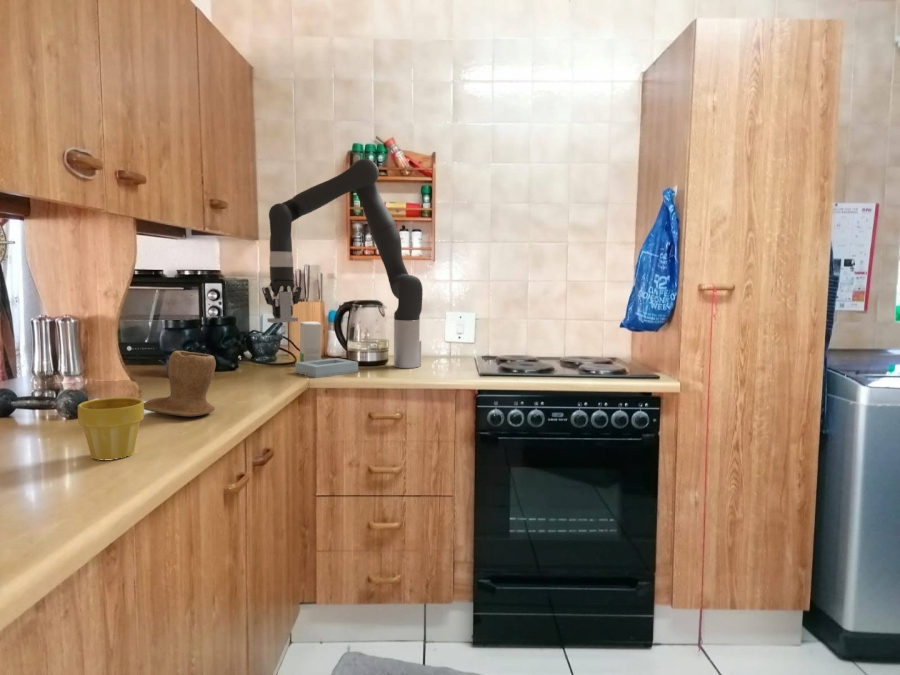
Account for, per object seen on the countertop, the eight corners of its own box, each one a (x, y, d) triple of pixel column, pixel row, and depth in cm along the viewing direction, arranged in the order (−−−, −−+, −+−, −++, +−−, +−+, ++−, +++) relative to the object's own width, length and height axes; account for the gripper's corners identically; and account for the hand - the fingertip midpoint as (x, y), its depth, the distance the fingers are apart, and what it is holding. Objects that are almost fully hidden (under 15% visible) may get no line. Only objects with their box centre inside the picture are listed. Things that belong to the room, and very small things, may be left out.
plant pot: (158, 448, 110) (156, 398, 108) (118, 466, 99) (116, 410, 98) (109, 445, 111) (107, 395, 110) (65, 462, 101) (62, 407, 100)
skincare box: (299, 363, 216) (299, 321, 215) (317, 362, 219) (317, 321, 217) (304, 366, 209) (303, 323, 207) (322, 365, 211) (322, 322, 210)
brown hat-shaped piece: (228, 412, 139) (226, 350, 138) (188, 423, 128) (186, 356, 127) (181, 405, 145) (179, 346, 144) (139, 415, 134) (137, 351, 133)
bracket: (291, 320, 199) (290, 291, 197) (298, 321, 196) (297, 291, 195) (267, 322, 192) (266, 291, 191) (273, 322, 189) (272, 292, 188)
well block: (337, 367, 207) (337, 358, 206) (358, 371, 199) (358, 361, 198) (295, 373, 195) (295, 362, 194) (315, 377, 186) (315, 367, 186)
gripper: (267, 265, 184) (269, 319, 186) (306, 265, 194) (307, 316, 196) (255, 265, 189) (257, 317, 191) (294, 266, 200) (295, 315, 201)
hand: (283, 317), depth 194 cm, fingers closed on bracket, 4 cm apart
